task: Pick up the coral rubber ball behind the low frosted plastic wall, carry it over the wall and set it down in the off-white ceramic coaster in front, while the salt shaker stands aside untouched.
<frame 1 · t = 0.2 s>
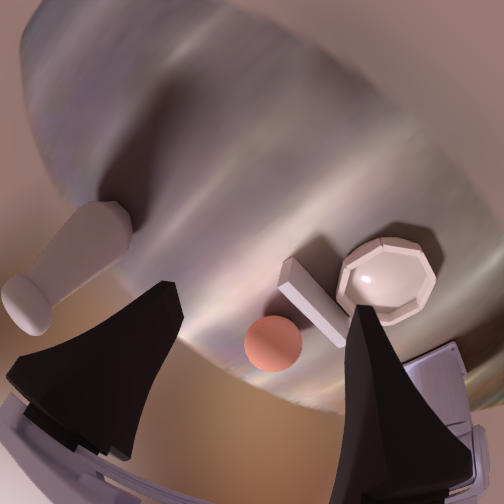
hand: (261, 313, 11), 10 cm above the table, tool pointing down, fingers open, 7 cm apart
salt shaker: (116, 219, 23), on the table
wall: (318, 292, 22), on the table
coaster: (384, 278, 20), on the table
ball: (277, 323, 25), on the table
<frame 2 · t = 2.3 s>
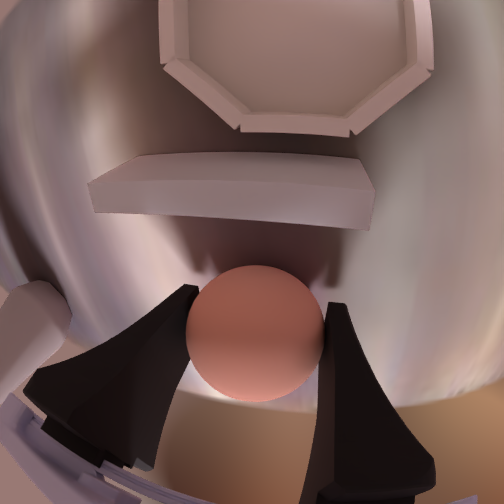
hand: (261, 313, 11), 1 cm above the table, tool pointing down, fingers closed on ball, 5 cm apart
salt shaker: (55, 298, 18), on the table
wall: (238, 165, 9), on the table
coaster: (295, 15, 6), on the table
ball: (268, 290, 12), on the table, touching gripper
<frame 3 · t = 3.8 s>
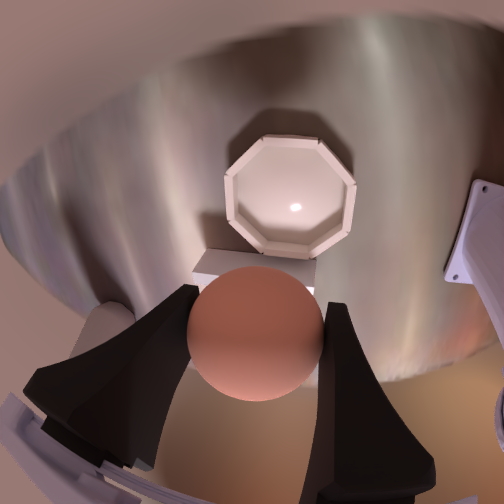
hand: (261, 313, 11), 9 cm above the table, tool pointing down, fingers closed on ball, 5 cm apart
salt shaker: (122, 313, 29), on the table
wall: (260, 259, 20), on the table
coaster: (291, 194, 17), on the table
ball: (267, 290, 12), point 7 cm above the table, touching gripper
when the fingers open (3 cm above the table, at t = 5.6 s): ball drops 1 cm, resting on coaster.
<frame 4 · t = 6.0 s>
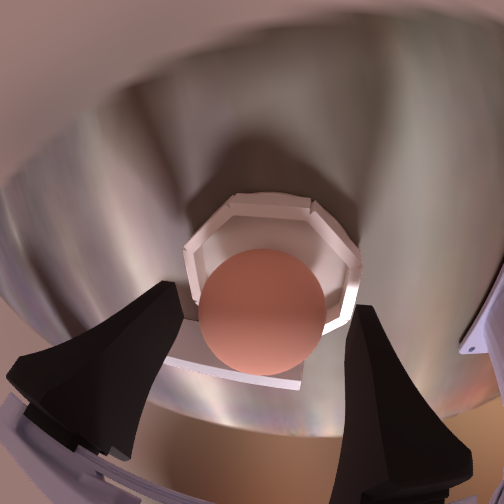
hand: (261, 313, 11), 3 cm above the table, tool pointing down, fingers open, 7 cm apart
wall: (239, 334, 16), on the table
coaster: (274, 268, 13), on the table
ball: (271, 274, 13), resting on coaster
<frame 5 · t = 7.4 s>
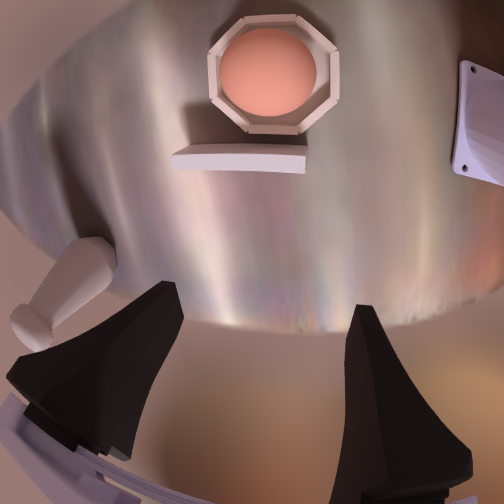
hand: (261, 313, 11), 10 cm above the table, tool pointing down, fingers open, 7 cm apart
salt shaker: (103, 251, 27), on the table
wall: (246, 150, 18), on the table
coaster: (275, 73, 15), on the table
ball: (273, 74, 14), resting on coaster
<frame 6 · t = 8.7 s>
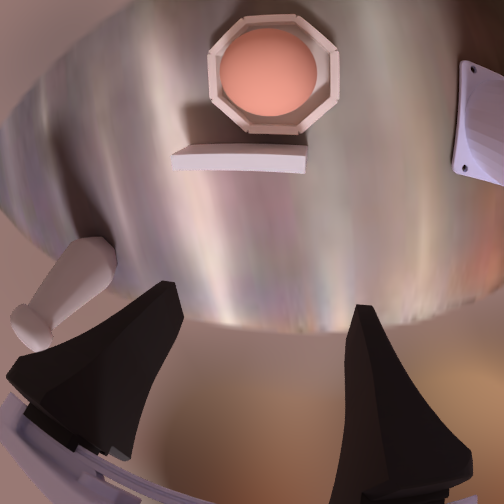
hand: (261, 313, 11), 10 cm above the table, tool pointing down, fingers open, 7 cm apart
salt shaker: (103, 251, 27), on the table
wall: (246, 150, 18), on the table
coaster: (275, 73, 15), on the table
ball: (273, 74, 14), resting on coaster
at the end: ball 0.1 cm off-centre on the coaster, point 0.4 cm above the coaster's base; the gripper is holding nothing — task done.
